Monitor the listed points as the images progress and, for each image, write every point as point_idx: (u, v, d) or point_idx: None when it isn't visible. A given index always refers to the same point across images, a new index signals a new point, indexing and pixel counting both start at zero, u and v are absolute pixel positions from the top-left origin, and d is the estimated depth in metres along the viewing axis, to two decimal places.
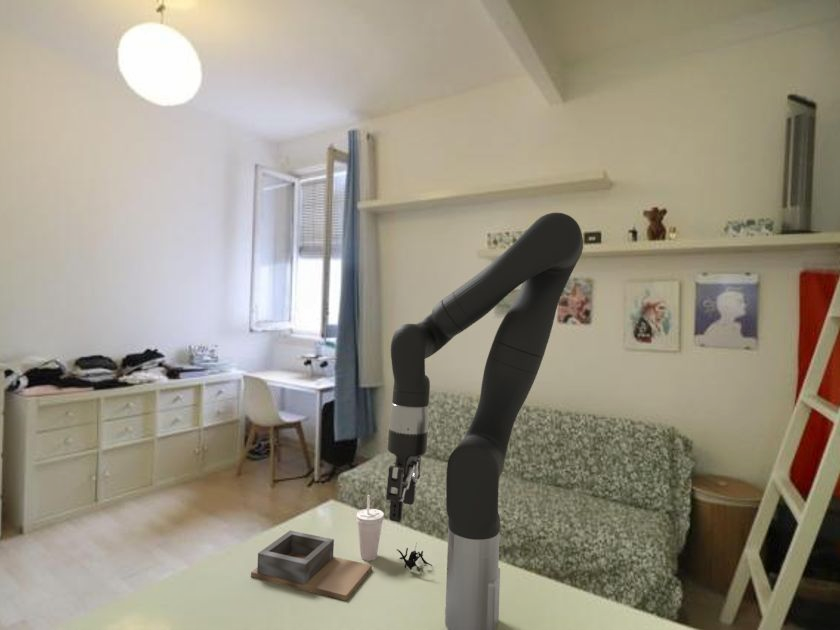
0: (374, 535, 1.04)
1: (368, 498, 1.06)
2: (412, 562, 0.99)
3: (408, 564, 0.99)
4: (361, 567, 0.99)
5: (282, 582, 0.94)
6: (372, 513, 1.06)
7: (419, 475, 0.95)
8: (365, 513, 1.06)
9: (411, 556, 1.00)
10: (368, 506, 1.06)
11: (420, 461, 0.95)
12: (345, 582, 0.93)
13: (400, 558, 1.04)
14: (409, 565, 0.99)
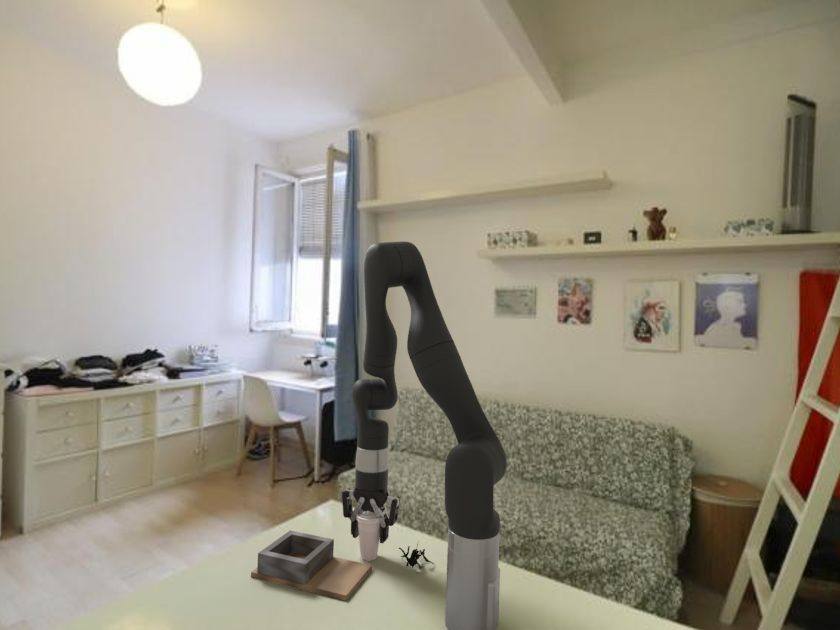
0: (374, 535, 1.04)
1: None
2: (414, 560, 1.00)
3: (410, 562, 1.00)
4: (361, 567, 0.99)
5: (282, 582, 0.94)
6: (372, 513, 1.06)
7: None
8: (365, 513, 1.06)
9: (413, 554, 1.01)
10: None
11: None
12: (345, 582, 0.93)
13: (402, 556, 1.05)
14: (411, 563, 1.00)
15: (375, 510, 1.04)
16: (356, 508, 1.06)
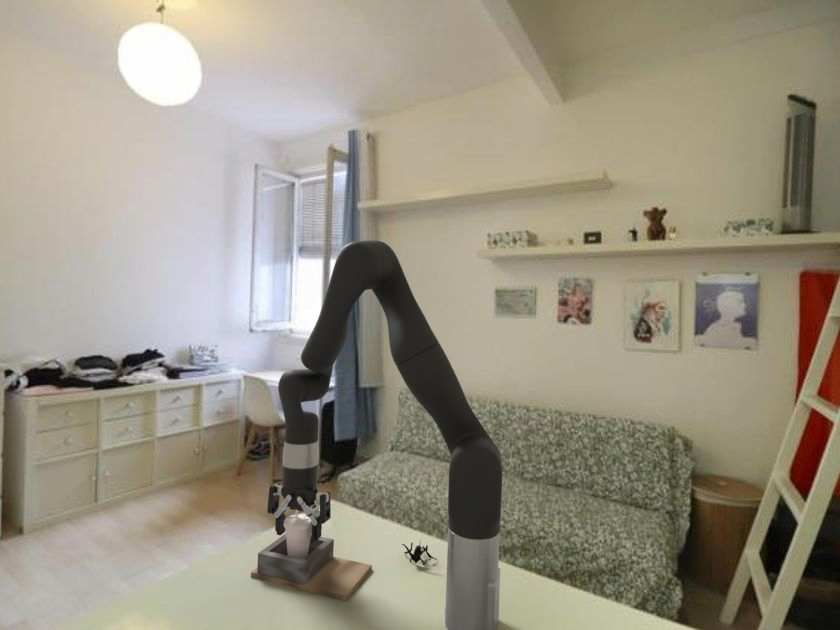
0: (301, 542, 0.97)
1: None
2: (417, 556, 1.02)
3: (413, 558, 1.02)
4: (361, 567, 0.99)
5: (282, 582, 0.94)
6: (301, 519, 1.00)
7: None
8: (293, 519, 0.99)
9: (416, 550, 1.03)
10: (296, 511, 0.99)
11: None
12: (345, 582, 0.93)
13: (405, 552, 1.06)
14: (414, 559, 1.02)
15: (304, 508, 0.97)
16: (282, 505, 0.99)
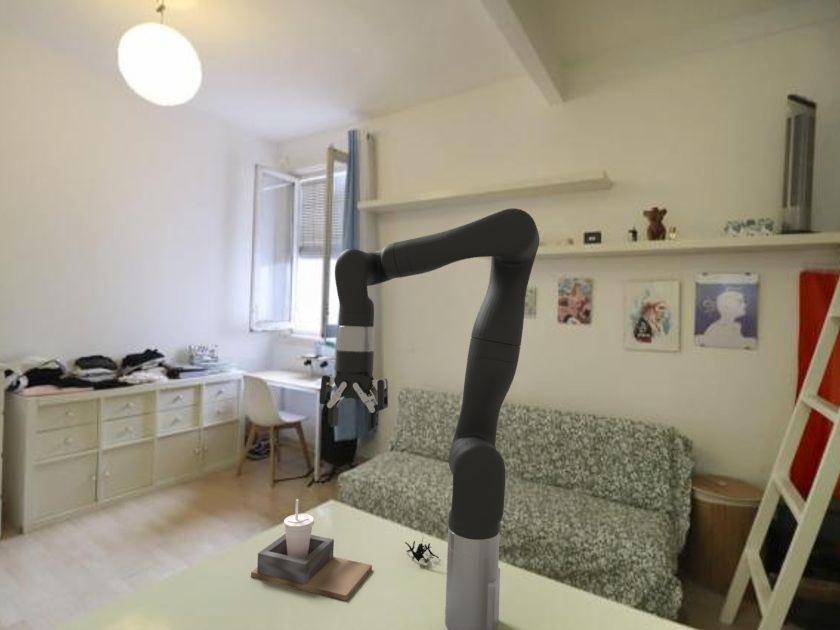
0: (301, 542, 0.97)
1: (296, 503, 0.99)
2: (420, 554, 1.03)
3: (416, 556, 1.03)
4: (361, 567, 0.99)
5: (282, 582, 0.94)
6: (301, 519, 1.00)
7: None
8: (293, 519, 0.99)
9: (419, 548, 1.04)
10: (296, 511, 0.99)
11: None
12: (345, 582, 0.93)
13: (407, 551, 1.07)
14: (417, 557, 1.03)
15: (360, 395, 0.92)
16: (336, 393, 0.93)
